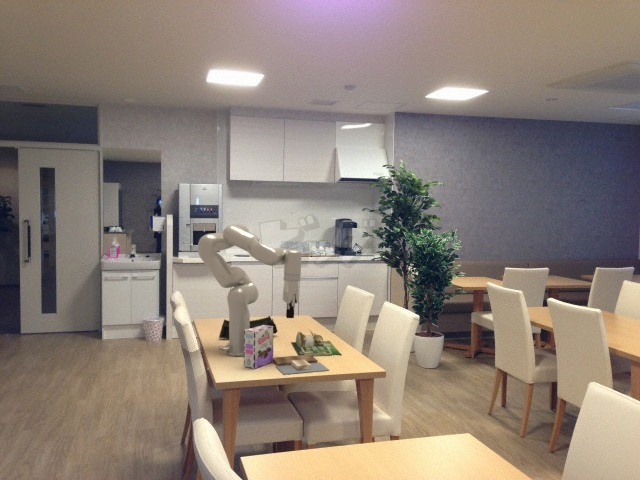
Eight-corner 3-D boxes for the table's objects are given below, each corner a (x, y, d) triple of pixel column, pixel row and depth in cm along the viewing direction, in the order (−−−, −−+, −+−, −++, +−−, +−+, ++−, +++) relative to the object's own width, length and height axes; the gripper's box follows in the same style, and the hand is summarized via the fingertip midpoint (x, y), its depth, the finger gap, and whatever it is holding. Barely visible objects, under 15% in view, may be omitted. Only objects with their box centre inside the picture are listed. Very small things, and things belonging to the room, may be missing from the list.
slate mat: (283, 374, 231) (283, 374, 231) (275, 367, 242) (275, 366, 242) (329, 370, 238) (329, 369, 238) (319, 363, 249) (319, 362, 249)
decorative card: (290, 327, 291) (328, 326, 295) (289, 341, 292) (327, 340, 295) (299, 341, 259) (341, 340, 263) (299, 358, 260) (341, 356, 263)
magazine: (214, 323, 290) (269, 304, 298) (214, 322, 293) (268, 303, 301) (224, 354, 292) (278, 334, 300) (223, 352, 295) (277, 333, 304)
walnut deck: (278, 367, 243) (278, 363, 243) (272, 361, 252) (272, 357, 252) (317, 363, 249) (317, 360, 249) (310, 357, 258) (310, 354, 258)
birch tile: (297, 370, 236) (297, 366, 236) (291, 365, 244) (291, 360, 244) (310, 369, 238) (311, 364, 238) (304, 364, 246) (304, 359, 246)
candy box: (254, 369, 239) (254, 331, 238) (243, 367, 242) (243, 329, 241) (273, 362, 250) (274, 325, 249) (263, 360, 253) (263, 324, 252)
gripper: (280, 274, 259) (277, 314, 260) (288, 279, 244) (285, 321, 246) (295, 275, 261) (293, 314, 262) (304, 280, 247) (302, 321, 248)
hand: (289, 317), depth 254 cm, fingers closed
